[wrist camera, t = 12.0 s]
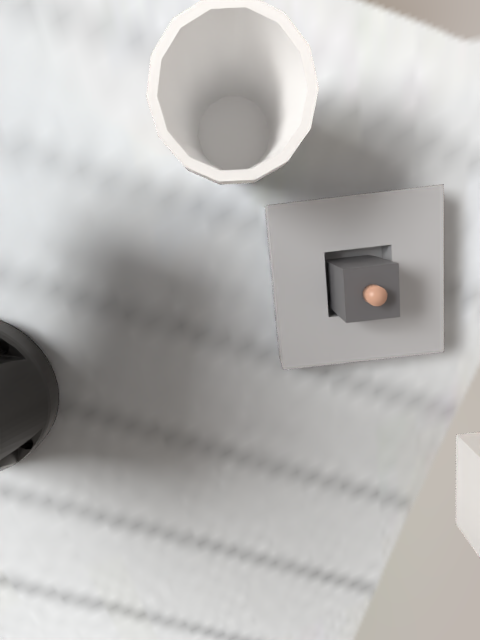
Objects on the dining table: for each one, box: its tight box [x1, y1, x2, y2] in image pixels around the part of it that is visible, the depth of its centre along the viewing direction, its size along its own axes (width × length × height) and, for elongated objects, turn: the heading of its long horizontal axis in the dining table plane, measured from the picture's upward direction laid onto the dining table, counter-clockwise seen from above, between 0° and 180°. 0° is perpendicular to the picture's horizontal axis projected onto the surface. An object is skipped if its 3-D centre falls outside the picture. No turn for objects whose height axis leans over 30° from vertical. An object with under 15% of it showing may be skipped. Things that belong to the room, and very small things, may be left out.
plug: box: [325, 255, 400, 323], centre depth 34 cm, size 4×4×8 cm
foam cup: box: [146, 0, 319, 185], centre depth 30 cm, size 10×9×13 cm
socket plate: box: [265, 184, 444, 370], centre depth 37 cm, size 14×14×4 cm
